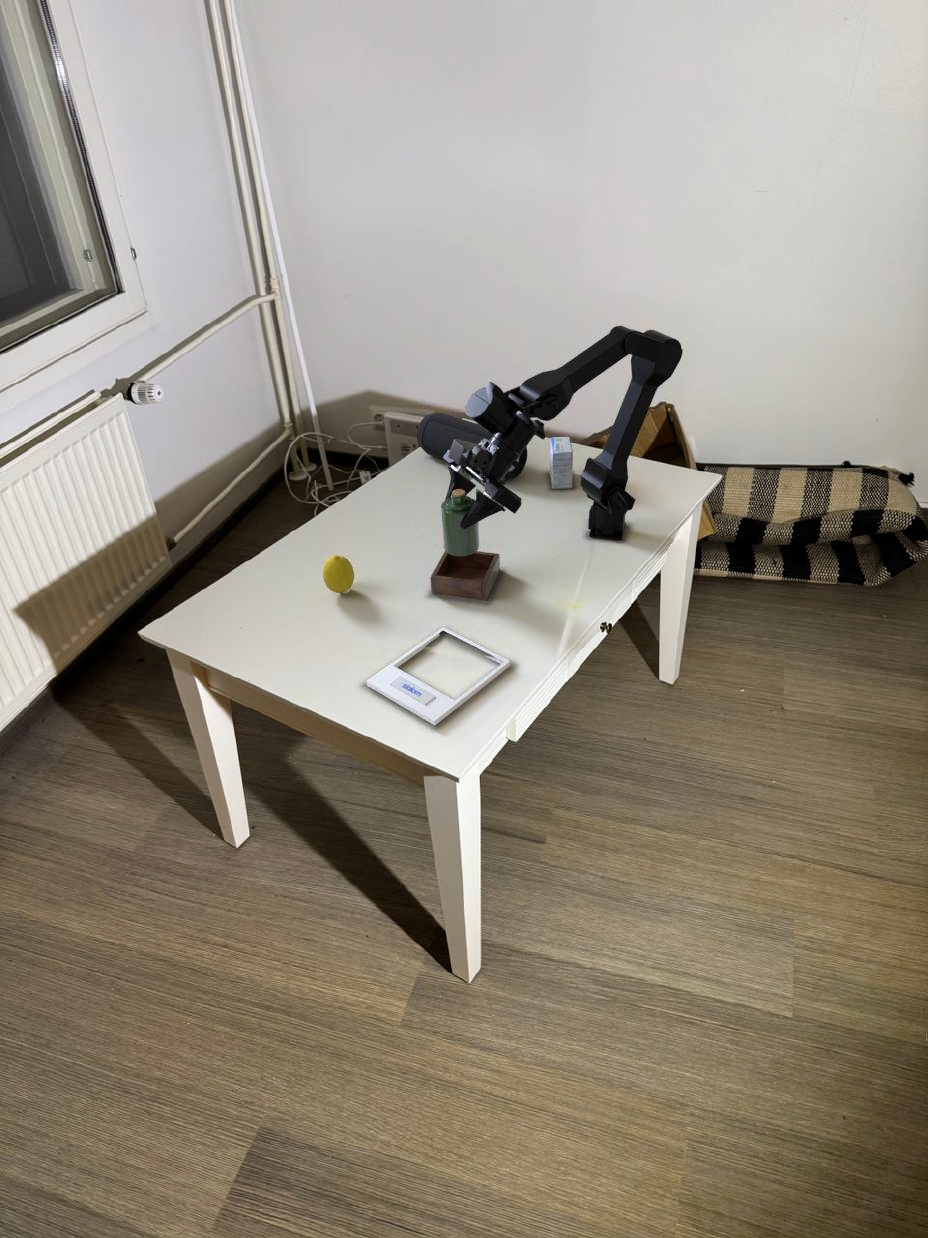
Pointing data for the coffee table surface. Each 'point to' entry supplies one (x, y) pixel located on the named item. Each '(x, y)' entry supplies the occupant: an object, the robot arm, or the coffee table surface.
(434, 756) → the coffee table surface
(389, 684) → the photo frame
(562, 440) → the medicine box
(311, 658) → the coffee table surface
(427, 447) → the portable speaker
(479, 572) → the crate
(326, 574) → the lemon
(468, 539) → the bottle
